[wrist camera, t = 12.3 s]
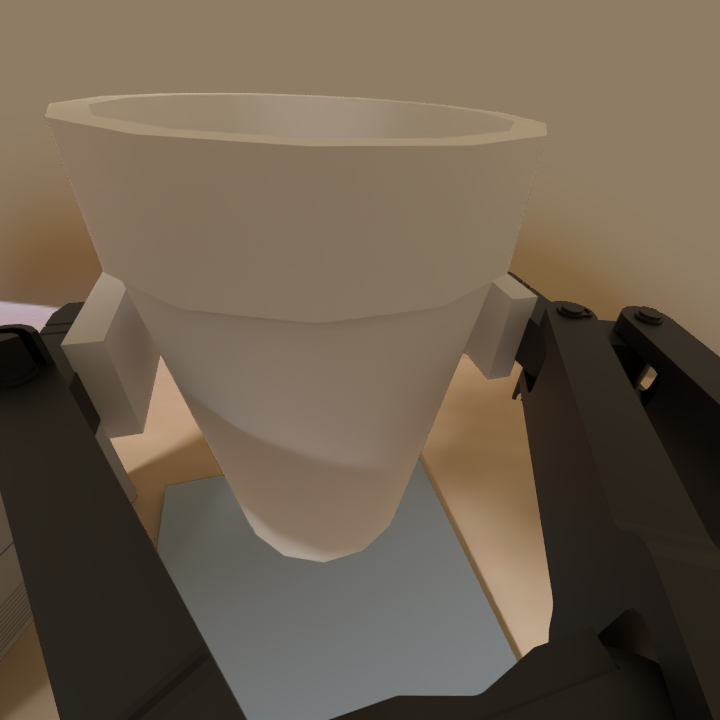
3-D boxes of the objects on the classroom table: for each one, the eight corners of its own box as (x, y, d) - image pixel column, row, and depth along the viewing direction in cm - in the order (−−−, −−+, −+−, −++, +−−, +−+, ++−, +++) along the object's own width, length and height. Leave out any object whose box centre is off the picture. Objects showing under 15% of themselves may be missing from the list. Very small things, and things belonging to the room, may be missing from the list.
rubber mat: (107, 939, 13) (102, 941, 13) (167, 489, 27) (165, 485, 27) (554, 748, 17) (558, 746, 17) (409, 444, 31) (410, 440, 31)
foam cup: (228, 407, 19) (156, 88, 11) (411, 401, 20) (460, 102, 12) (171, 625, 12) (-151, 131, 4) (467, 601, 13) (684, 158, 5)
